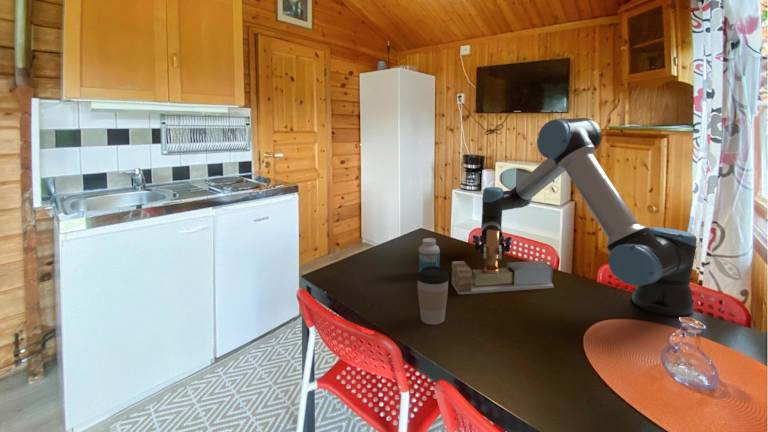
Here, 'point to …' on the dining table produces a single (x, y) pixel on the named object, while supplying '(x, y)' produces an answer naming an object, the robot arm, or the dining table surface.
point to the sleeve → (531, 273)
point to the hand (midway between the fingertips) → (492, 254)
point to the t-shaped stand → (492, 264)
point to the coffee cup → (432, 294)
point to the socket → (461, 276)
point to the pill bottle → (429, 254)
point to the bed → (501, 288)
